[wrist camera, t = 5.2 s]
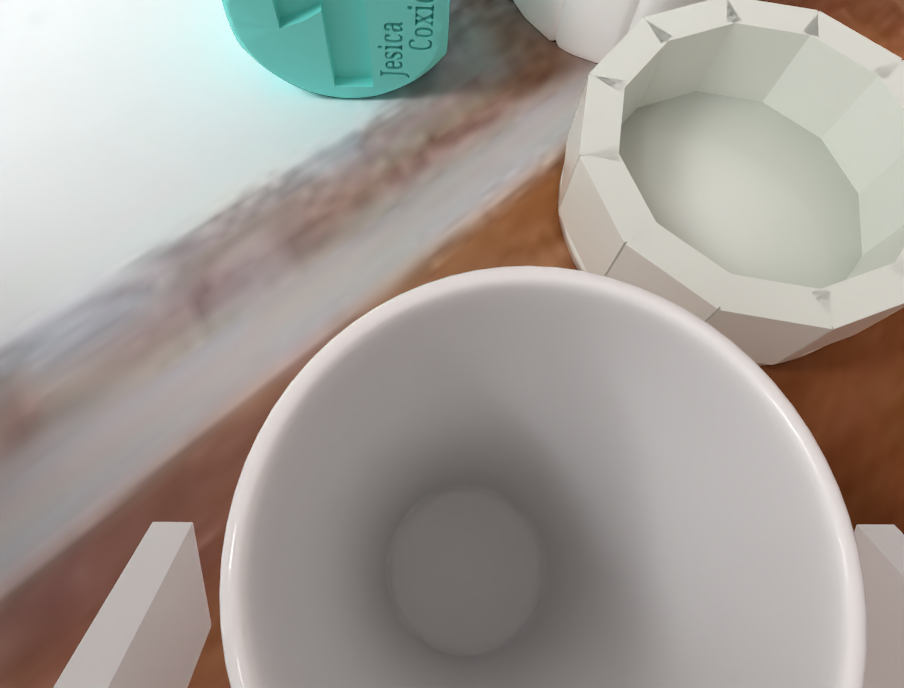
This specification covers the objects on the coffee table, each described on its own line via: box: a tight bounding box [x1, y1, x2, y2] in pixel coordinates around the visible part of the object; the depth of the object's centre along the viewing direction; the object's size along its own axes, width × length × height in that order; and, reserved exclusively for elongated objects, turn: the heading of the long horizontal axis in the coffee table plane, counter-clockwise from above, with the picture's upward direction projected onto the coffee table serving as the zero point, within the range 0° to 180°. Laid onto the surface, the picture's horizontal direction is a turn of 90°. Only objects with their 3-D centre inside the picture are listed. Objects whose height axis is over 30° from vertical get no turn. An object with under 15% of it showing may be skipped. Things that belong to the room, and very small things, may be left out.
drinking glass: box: [219, 266, 867, 688], centre depth 13 cm, size 7×7×15 cm
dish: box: [558, 0, 904, 366], centre depth 23 cm, size 13×13×4 cm
